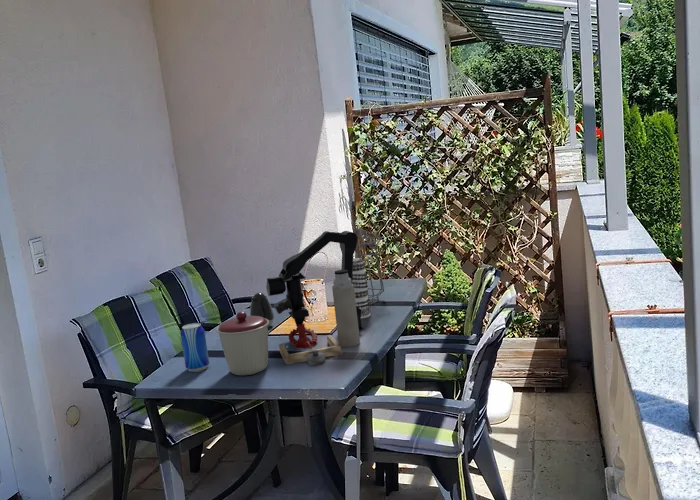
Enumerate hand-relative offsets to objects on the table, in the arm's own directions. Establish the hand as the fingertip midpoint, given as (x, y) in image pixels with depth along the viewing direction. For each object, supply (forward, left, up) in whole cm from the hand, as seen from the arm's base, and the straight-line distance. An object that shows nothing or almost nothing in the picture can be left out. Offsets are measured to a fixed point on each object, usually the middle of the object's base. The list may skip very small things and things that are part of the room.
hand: (299, 330), depth 255 cm
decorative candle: (-30, -19, -4) cm, 36 cm away
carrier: (0, +21, -4) cm, 22 cm away
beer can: (+40, +11, -4) cm, 42 cm away
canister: (+23, +24, -4) cm, 34 cm away
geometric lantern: (-39, -39, -4) cm, 55 cm away
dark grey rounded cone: (+11, -29, -4) cm, 31 cm away
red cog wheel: (0, +7, -4) cm, 8 cm away
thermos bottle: (-16, +16, -4) cm, 23 cm away
